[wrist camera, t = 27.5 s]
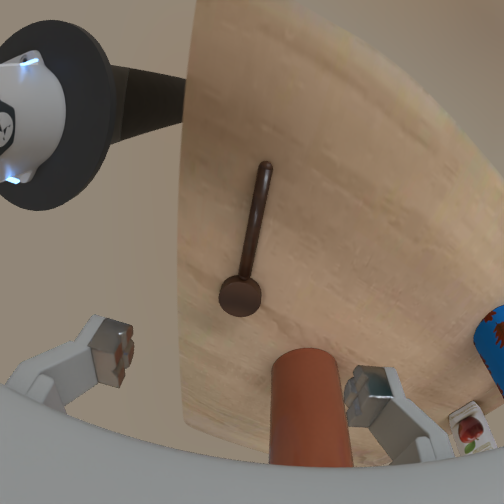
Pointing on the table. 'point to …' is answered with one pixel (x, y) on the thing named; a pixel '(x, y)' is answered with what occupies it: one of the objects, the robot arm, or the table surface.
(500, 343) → the thermos
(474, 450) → the juice carton
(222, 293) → the brown disc-ended rod
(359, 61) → the table surface
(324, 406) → the canister
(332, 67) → the table surface
